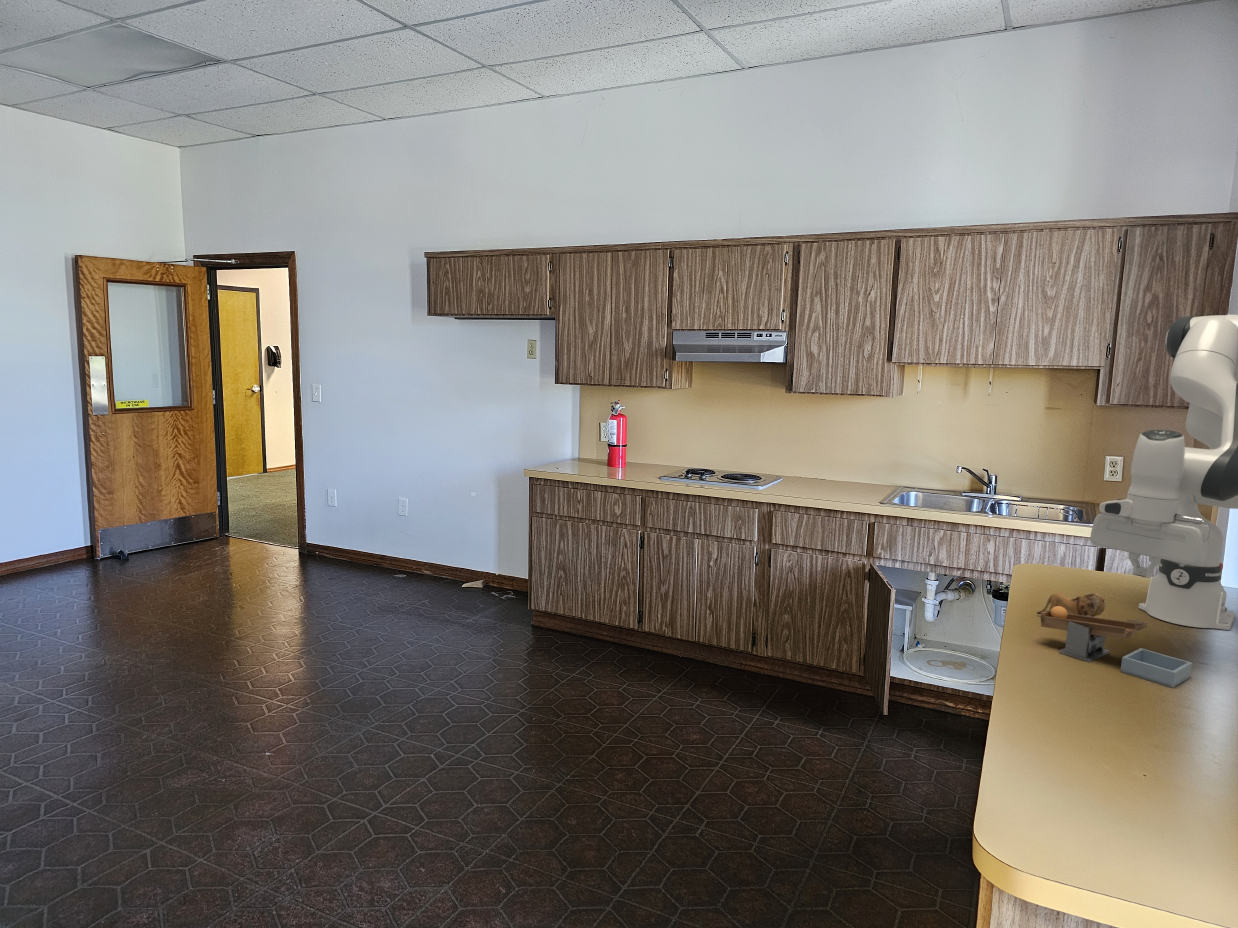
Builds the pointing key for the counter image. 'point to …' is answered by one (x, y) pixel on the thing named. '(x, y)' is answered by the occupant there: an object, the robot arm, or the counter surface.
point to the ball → (1058, 612)
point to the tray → (1156, 667)
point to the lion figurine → (1078, 604)
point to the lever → (1095, 625)
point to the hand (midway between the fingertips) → (1141, 576)
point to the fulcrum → (1083, 643)
